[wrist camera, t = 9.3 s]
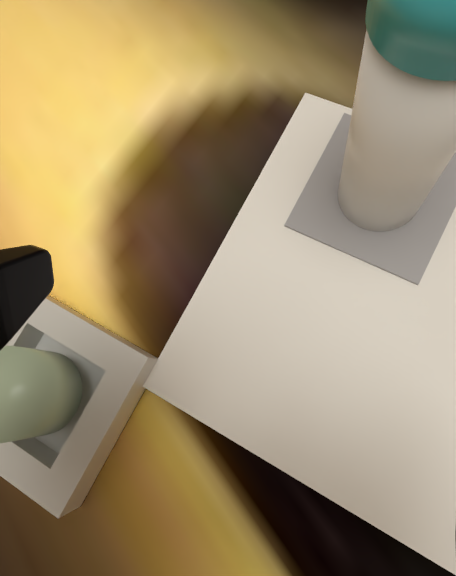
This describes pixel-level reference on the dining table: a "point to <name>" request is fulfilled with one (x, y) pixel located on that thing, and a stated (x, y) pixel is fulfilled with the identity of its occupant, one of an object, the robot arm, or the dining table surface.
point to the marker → (400, 112)
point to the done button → (36, 392)
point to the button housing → (90, 415)
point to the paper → (331, 340)
